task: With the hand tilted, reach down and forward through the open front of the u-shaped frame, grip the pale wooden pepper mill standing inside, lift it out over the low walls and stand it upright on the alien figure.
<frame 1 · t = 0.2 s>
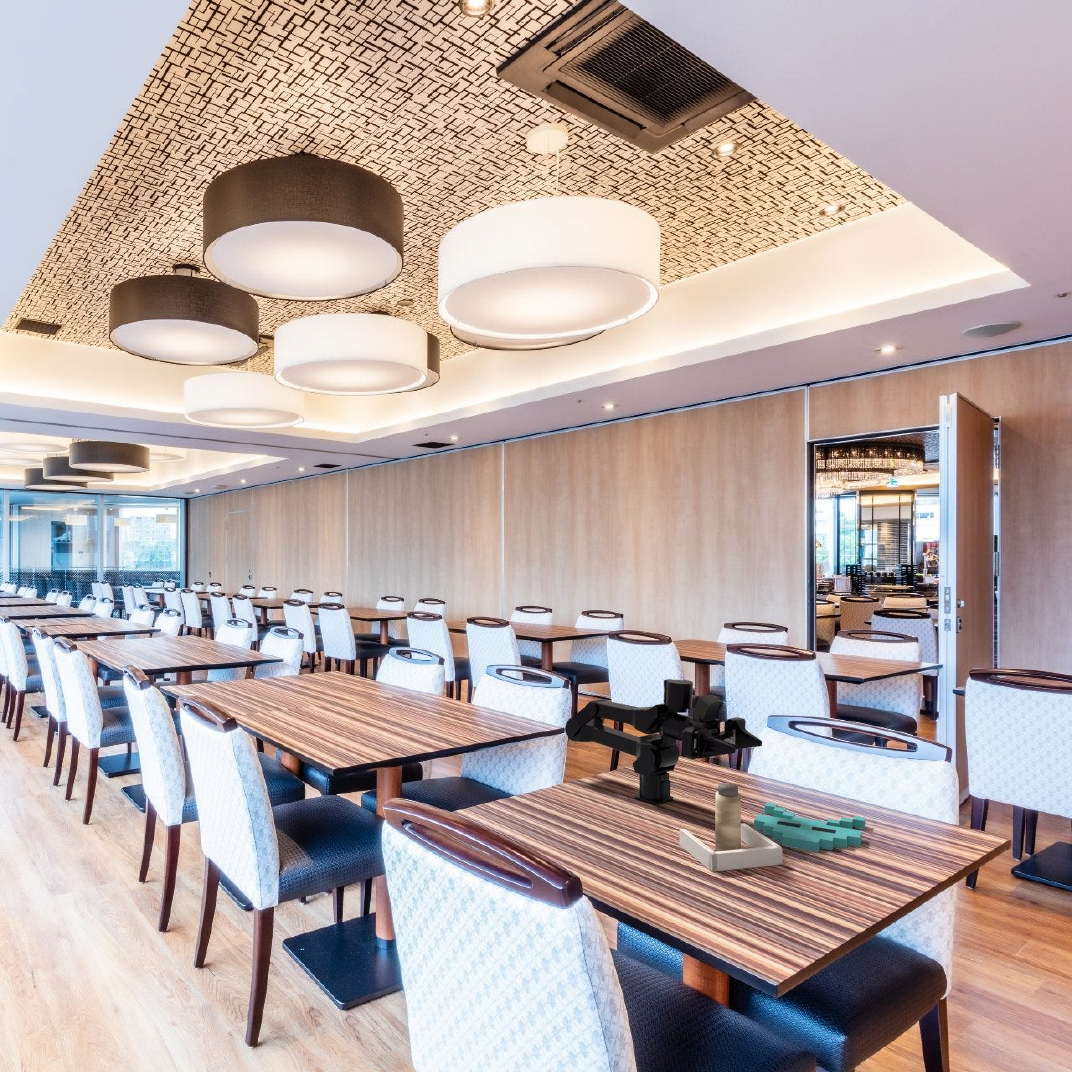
hand: (748, 746, 156), 17 cm above the table, tool horizontal, fingers open, 9 cm apart
pepper mill: (728, 819, 143), in the u-shaped frame
u-shaped frame: (728, 853, 142), on the table
alien figure: (807, 835, 154), on the table
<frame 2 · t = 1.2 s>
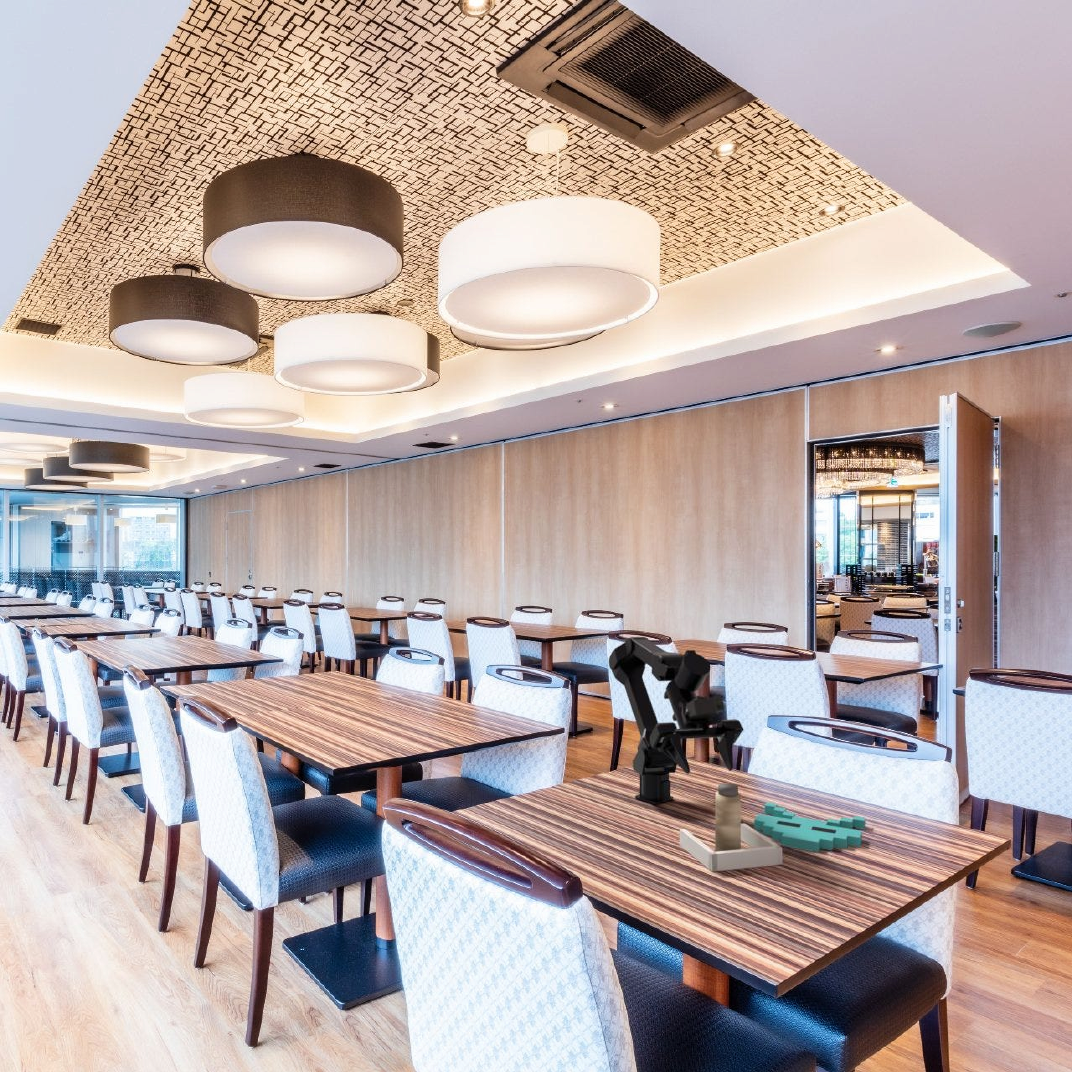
hand: (710, 771, 150), 13 cm above the table, tool tilted 45°, fingers open, 9 cm apart
nothing on the table moved.
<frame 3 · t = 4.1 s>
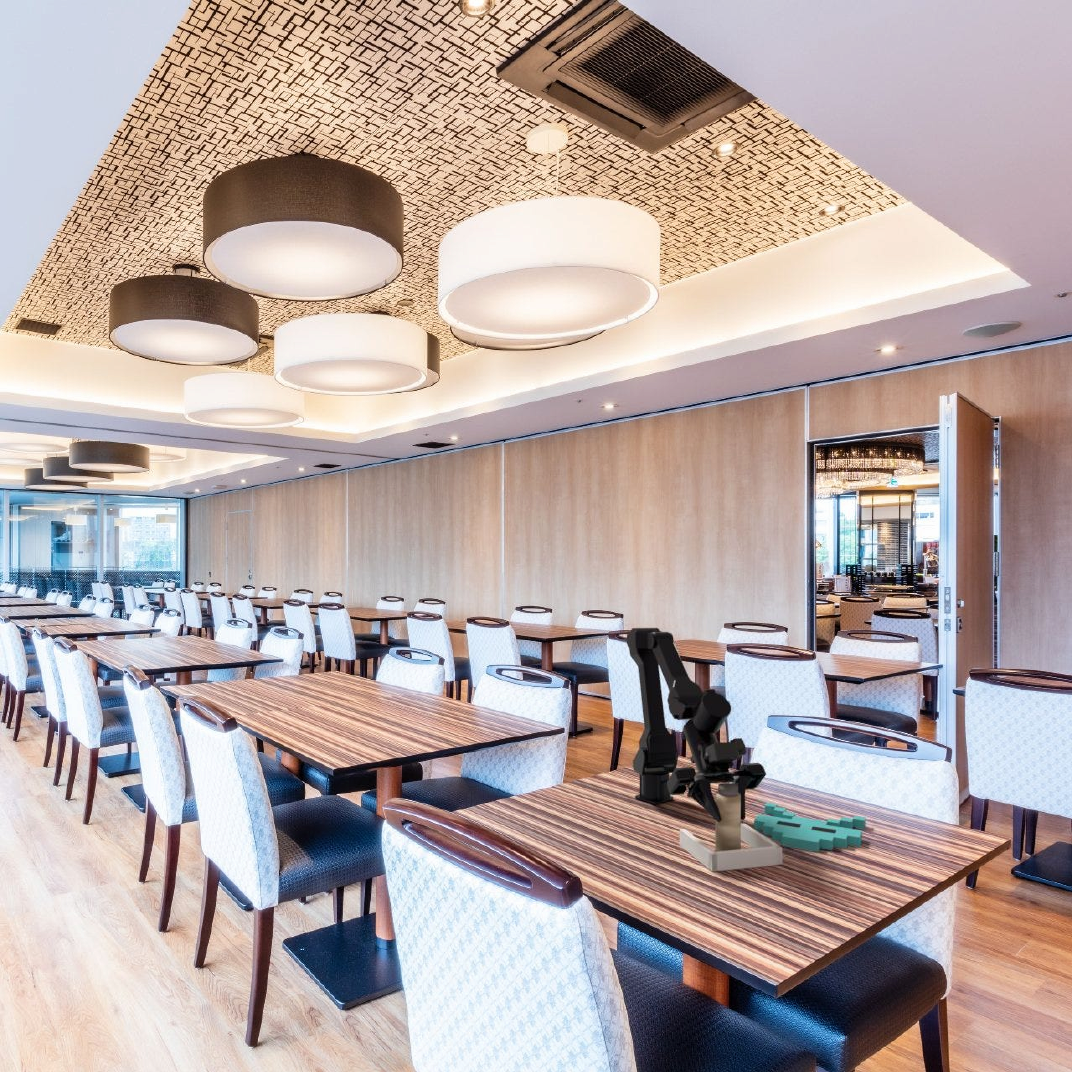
hand: (731, 820, 141), 7 cm above the table, tool tilted 45°, fingers closed on pepper mill, 5 cm apart
pepper mill: (728, 819, 143), in the u-shaped frame, touching gripper
everything else where it was.
when the fingers open (10 cm above the table, at t = 8.9 s): pepper mill drops 2 cm, resting on alien figure.
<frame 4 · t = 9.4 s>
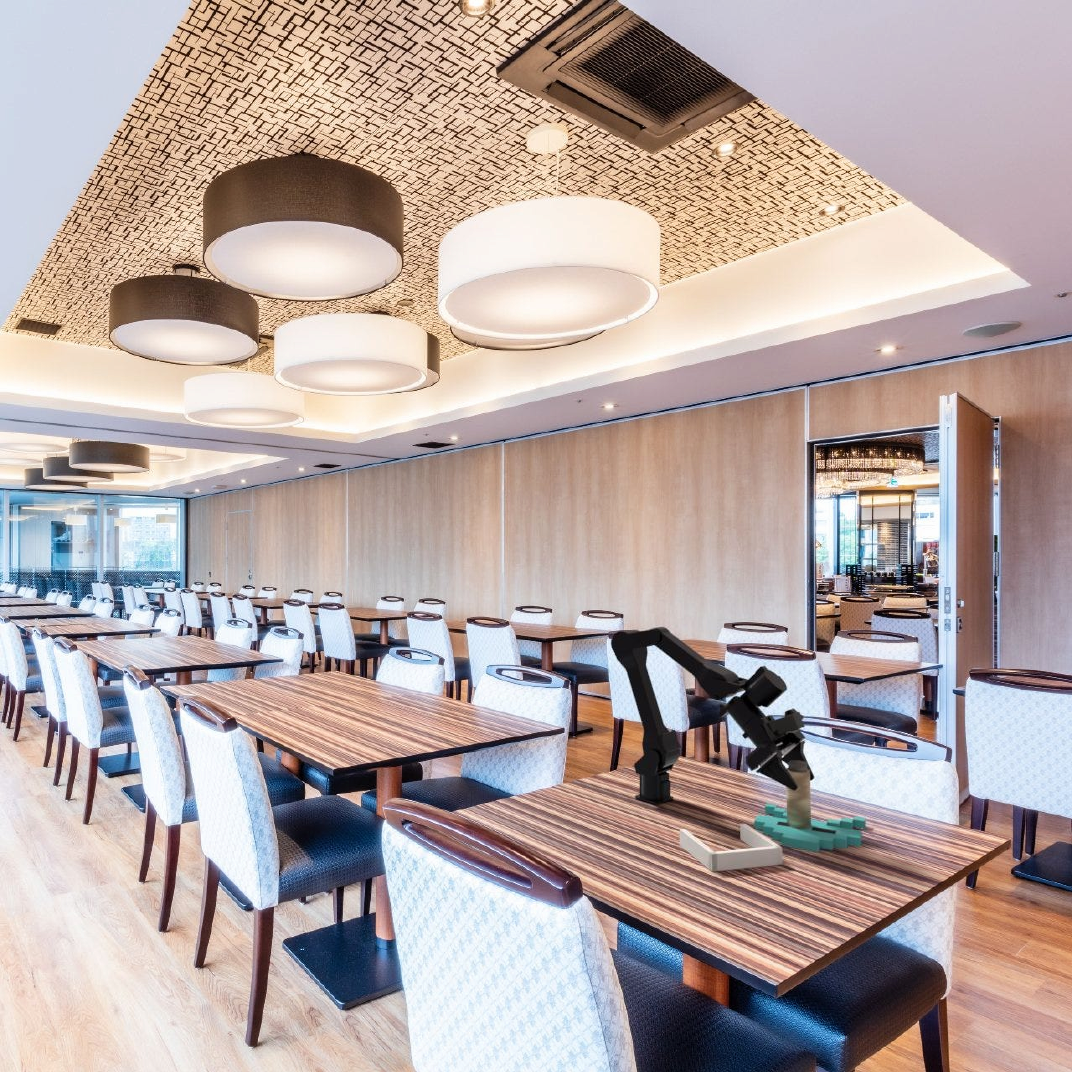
hand: (804, 784, 153), 10 cm above the table, tool tilted 45°, fingers open, 9 cm apart
pepper mill: (798, 793, 154), point 8 cm above the table, touching alien figure
alien figure: (807, 836, 154), on the table, touching pepper mill
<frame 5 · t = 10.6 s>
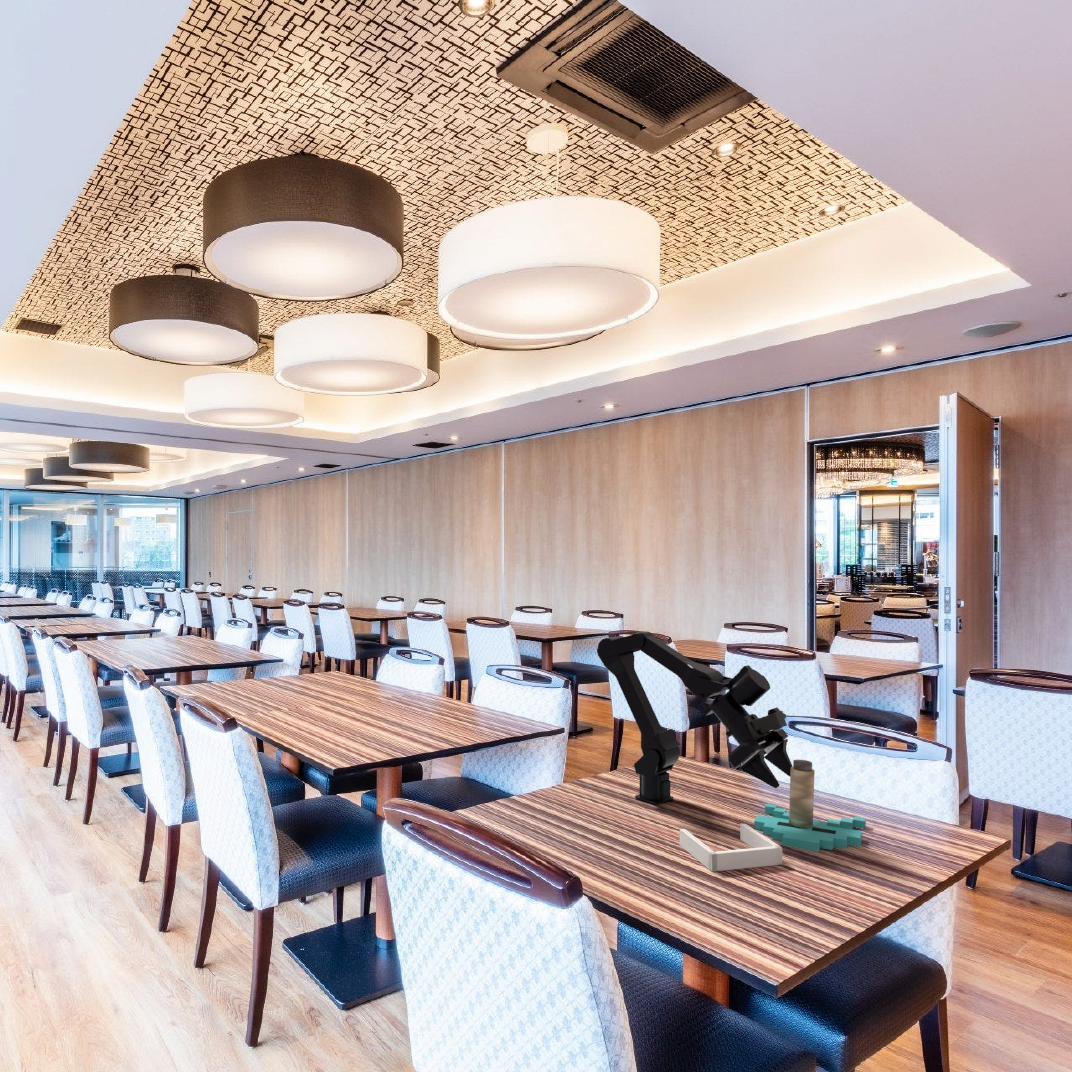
hand: (786, 782, 155), 10 cm above the table, tool tilted 45°, fingers open, 9 cm apart
pepper mill: (801, 792, 154), point 8 cm above the table, touching alien figure
everything else where it was.
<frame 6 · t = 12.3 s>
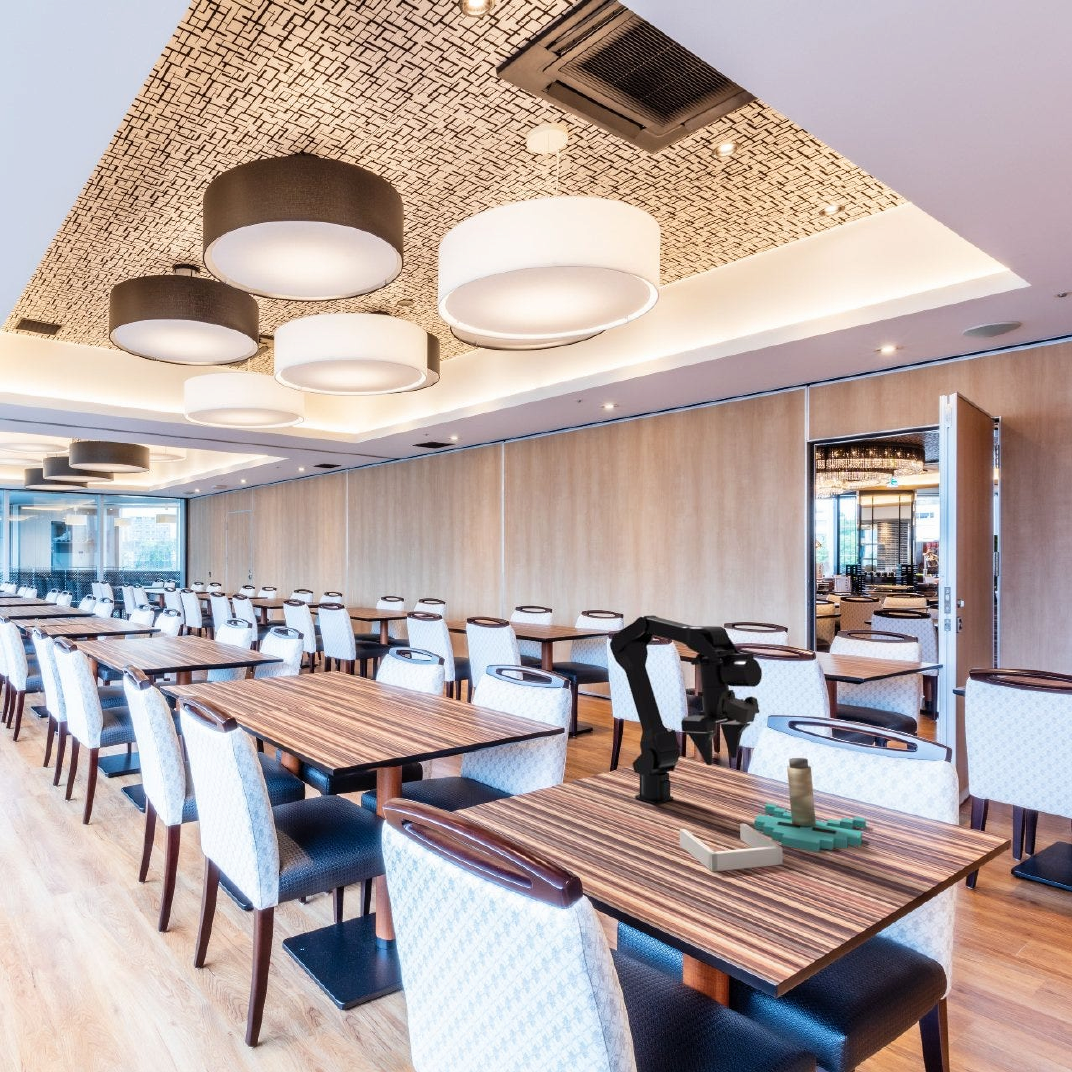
hand: (721, 761, 160), 13 cm above the table, tool pointing down, fingers open, 9 cm apart
pepper mill: (801, 791, 155), point 8 cm above the table, tilted 6°
alien figure: (807, 836, 154), on the table
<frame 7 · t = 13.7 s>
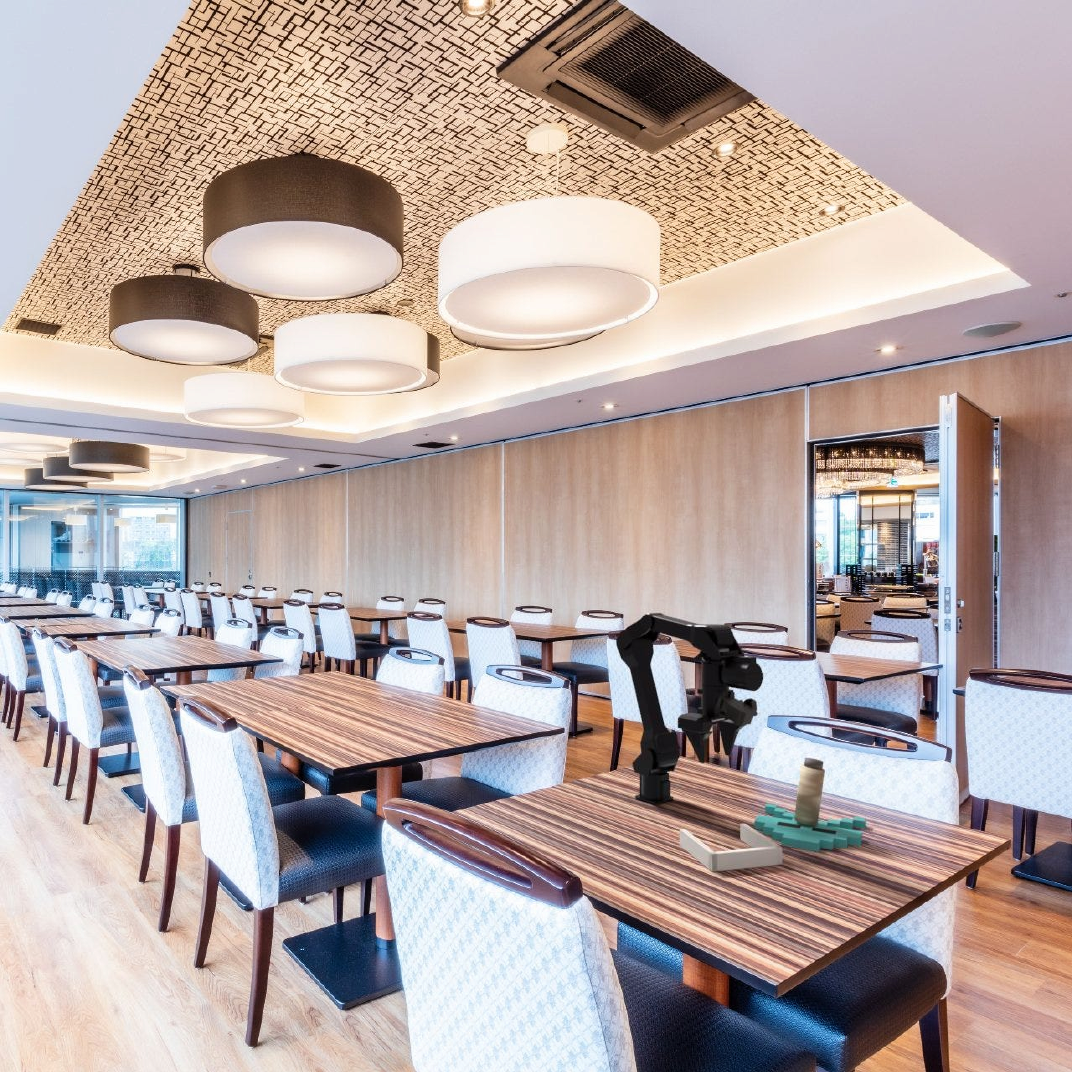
hand: (715, 759, 160), 13 cm above the table, tool pointing down, fingers open, 9 cm apart
pepper mill: (809, 790, 155), point 8 cm above the table, tilted 9°, touching alien figure
alien figure: (808, 836, 154), on the table, touching pepper mill
at the end: pepper mill inside the target area on the alien figure (2.0 cm from its centre), point 9.0 cm above the alien figure's base; pepper mill tilted 9°; the gripper is holding nothing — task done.
